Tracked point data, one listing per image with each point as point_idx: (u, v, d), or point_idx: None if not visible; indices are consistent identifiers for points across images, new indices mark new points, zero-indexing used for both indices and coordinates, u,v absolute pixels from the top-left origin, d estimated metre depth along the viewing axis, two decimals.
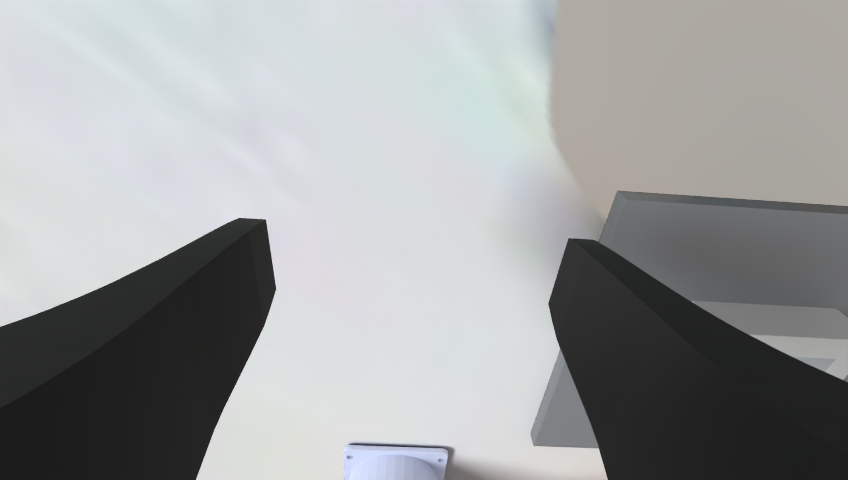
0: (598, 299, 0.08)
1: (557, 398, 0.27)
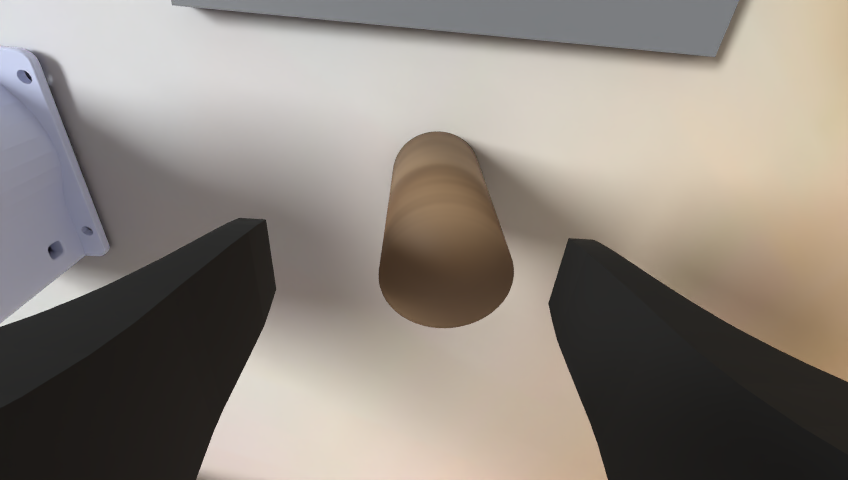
0: (598, 299, 0.08)
1: None
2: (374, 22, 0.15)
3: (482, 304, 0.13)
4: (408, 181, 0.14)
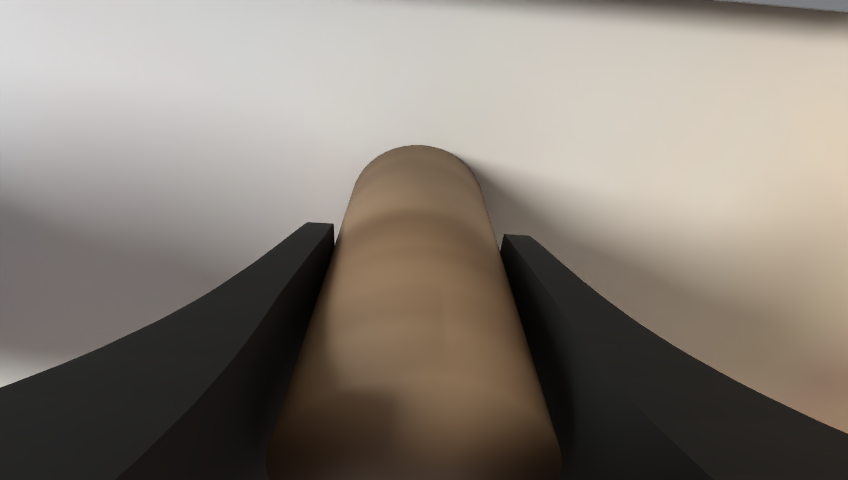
0: (522, 295, 0.08)
1: None
2: None
3: None
4: (353, 244, 0.08)
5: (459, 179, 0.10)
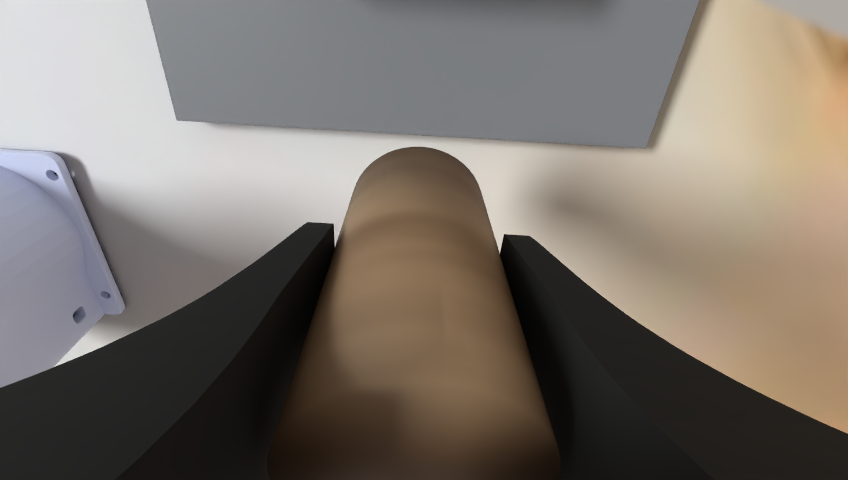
0: (522, 296, 0.08)
1: None
2: (348, 129, 0.17)
3: None
4: (353, 246, 0.08)
5: (459, 181, 0.10)
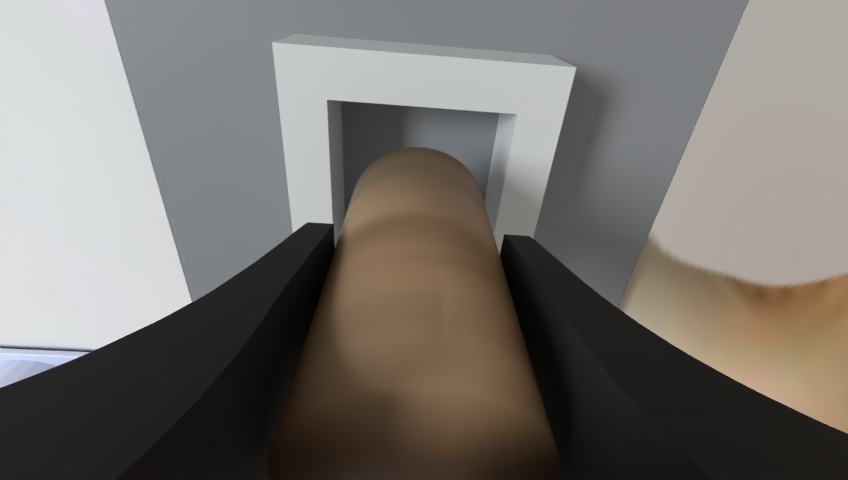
0: (522, 295, 0.08)
1: (186, 251, 0.17)
2: None
3: None
4: (352, 247, 0.08)
5: (459, 181, 0.10)
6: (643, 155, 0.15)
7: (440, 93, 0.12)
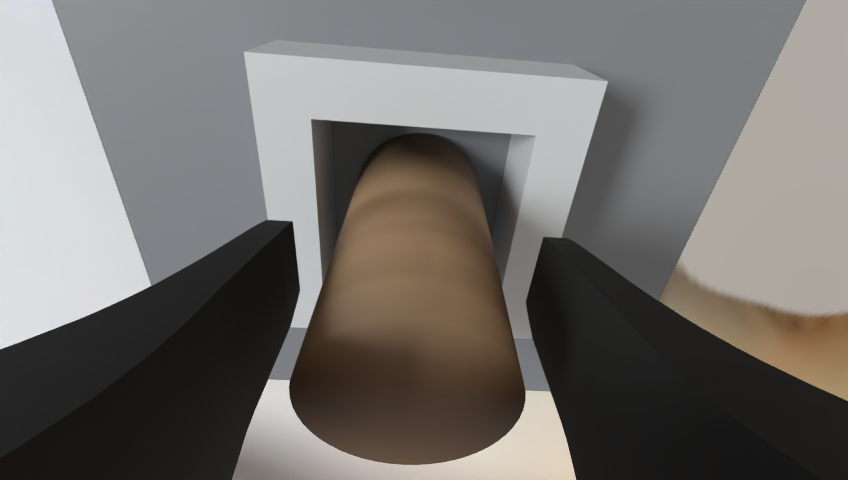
0: (568, 298, 0.08)
1: None
2: None
3: (472, 437, 0.07)
4: (359, 218, 0.09)
5: (455, 164, 0.11)
6: (674, 177, 0.13)
7: (445, 111, 0.10)
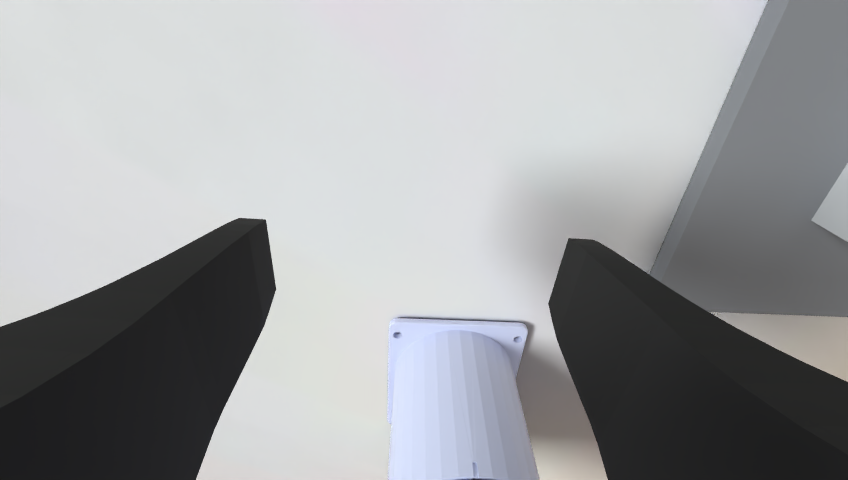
0: (598, 300, 0.08)
1: (696, 222, 0.19)
2: (775, 313, 0.22)
3: None
4: None
5: None
6: None
7: None
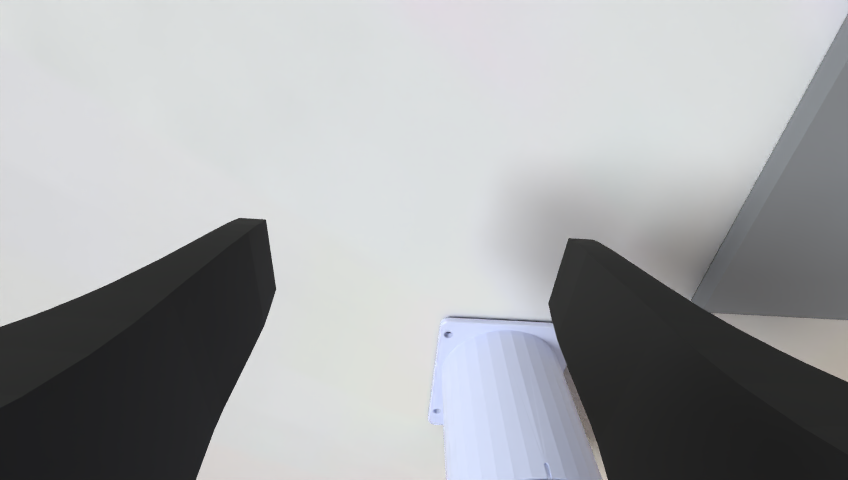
0: (599, 300, 0.08)
1: (759, 226, 0.19)
2: (826, 318, 0.22)
3: None
4: None
5: None
6: None
7: None
